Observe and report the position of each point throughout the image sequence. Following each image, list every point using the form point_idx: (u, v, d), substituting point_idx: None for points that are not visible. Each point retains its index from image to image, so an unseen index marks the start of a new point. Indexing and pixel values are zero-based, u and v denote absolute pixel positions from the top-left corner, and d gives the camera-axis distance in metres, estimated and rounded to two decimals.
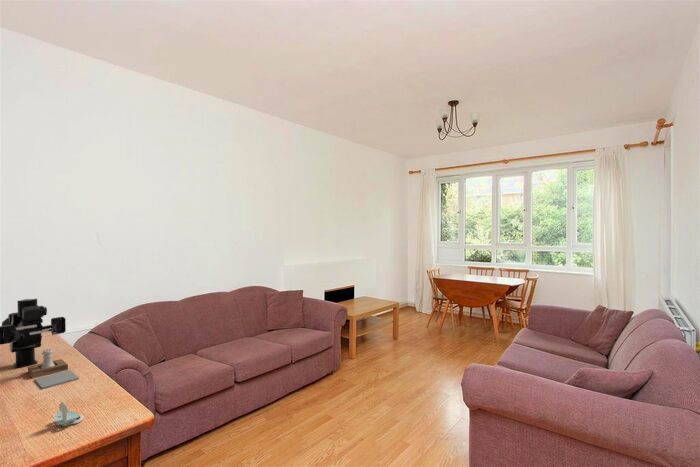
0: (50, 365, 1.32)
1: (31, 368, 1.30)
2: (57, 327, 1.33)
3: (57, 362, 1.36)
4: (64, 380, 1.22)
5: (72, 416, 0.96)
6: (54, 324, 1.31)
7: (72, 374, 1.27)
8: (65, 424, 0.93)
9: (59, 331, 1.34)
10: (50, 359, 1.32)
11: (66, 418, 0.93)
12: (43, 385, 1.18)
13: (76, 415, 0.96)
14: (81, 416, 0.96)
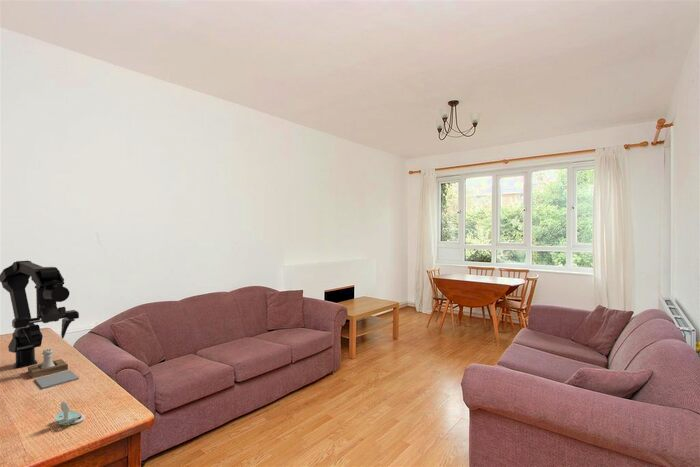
0: (50, 365, 1.32)
1: (31, 368, 1.30)
2: None
3: (57, 362, 1.36)
4: (64, 380, 1.22)
5: (73, 416, 0.96)
6: (66, 326, 1.36)
7: (72, 374, 1.27)
8: (66, 423, 0.93)
9: None
10: (50, 359, 1.32)
11: (67, 418, 0.94)
12: (43, 385, 1.18)
13: (77, 414, 0.96)
14: (82, 415, 0.96)
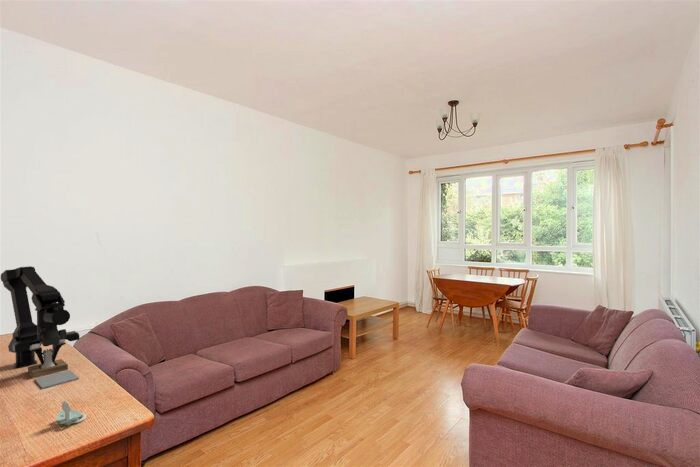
0: (50, 365, 1.32)
1: (31, 368, 1.30)
2: None
3: (57, 362, 1.36)
4: (64, 380, 1.22)
5: (75, 415, 0.96)
6: (56, 350, 1.34)
7: (72, 374, 1.27)
8: (68, 423, 0.93)
9: None
10: (50, 359, 1.32)
11: (69, 417, 0.94)
12: (43, 385, 1.18)
13: (79, 414, 0.96)
14: (84, 415, 0.97)
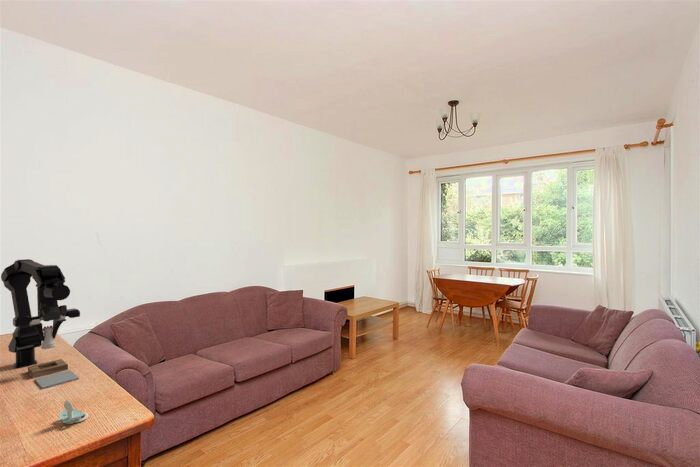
0: (51, 341, 1.31)
1: (31, 368, 1.30)
2: None
3: (57, 362, 1.36)
4: (64, 380, 1.22)
5: (77, 414, 0.97)
6: (57, 327, 1.33)
7: (72, 374, 1.27)
8: (70, 422, 0.94)
9: None
10: (50, 336, 1.32)
11: (71, 416, 0.94)
12: (43, 385, 1.18)
13: (81, 413, 0.97)
14: (86, 414, 0.97)
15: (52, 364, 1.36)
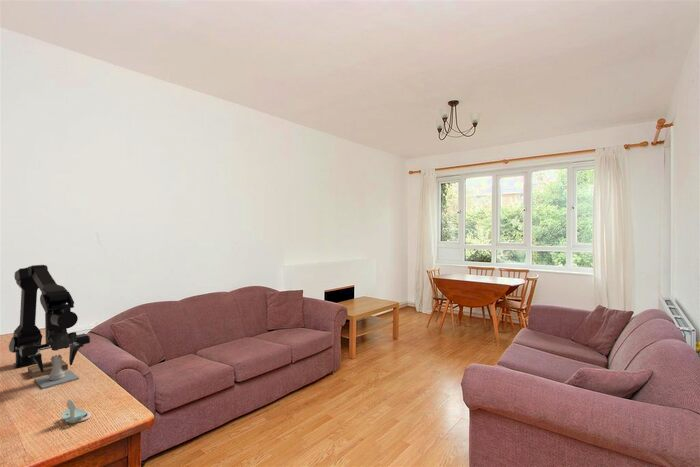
0: (59, 372, 1.23)
1: (31, 368, 1.30)
2: None
3: None
4: (64, 380, 1.22)
5: (79, 413, 0.97)
6: (74, 353, 1.27)
7: (72, 374, 1.27)
8: (73, 421, 0.94)
9: None
10: (59, 366, 1.24)
11: (74, 415, 0.95)
12: (43, 385, 1.18)
13: (83, 412, 0.97)
14: (88, 413, 0.98)
15: None
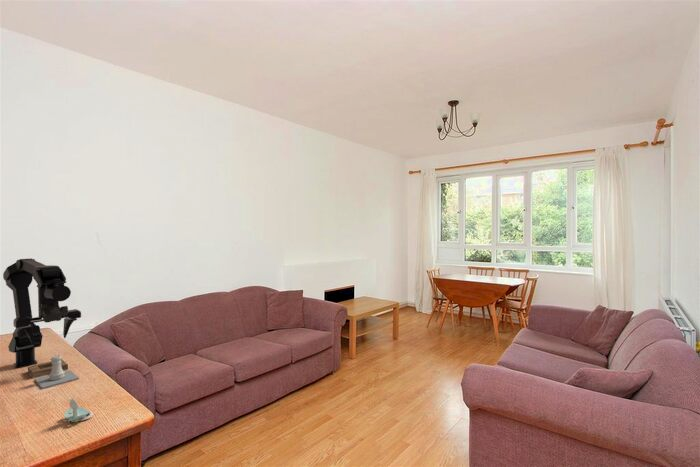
0: (59, 372, 1.23)
1: (31, 368, 1.30)
2: None
3: None
4: (64, 380, 1.22)
5: (82, 412, 0.97)
6: (68, 326, 1.34)
7: (72, 374, 1.27)
8: (75, 420, 0.95)
9: None
10: (59, 366, 1.24)
11: (76, 414, 0.95)
12: (43, 385, 1.18)
13: (86, 411, 0.98)
14: (91, 412, 0.98)
15: None
